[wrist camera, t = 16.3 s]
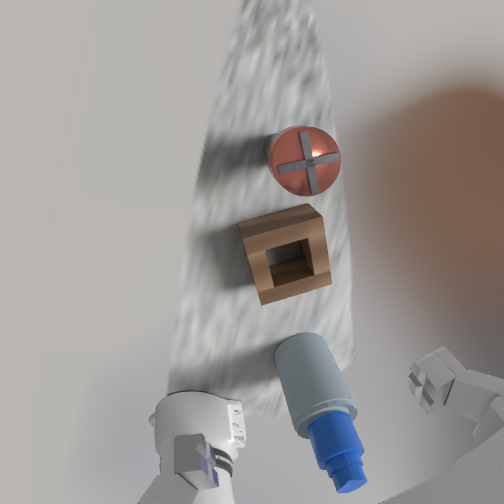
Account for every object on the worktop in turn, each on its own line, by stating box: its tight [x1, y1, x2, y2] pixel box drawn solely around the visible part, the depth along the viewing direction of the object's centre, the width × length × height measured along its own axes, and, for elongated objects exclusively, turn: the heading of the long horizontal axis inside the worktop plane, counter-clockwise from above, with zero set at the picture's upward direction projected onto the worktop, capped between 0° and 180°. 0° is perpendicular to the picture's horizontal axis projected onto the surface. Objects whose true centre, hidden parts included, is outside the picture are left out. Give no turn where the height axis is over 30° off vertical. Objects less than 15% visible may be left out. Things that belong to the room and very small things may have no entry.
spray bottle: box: [274, 332, 367, 493], centre depth 37 cm, size 9×9×25 cm
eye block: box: [238, 204, 332, 305], centre depth 37 cm, size 9×9×5 cm
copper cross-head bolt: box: [264, 126, 341, 196], centre depth 29 cm, size 6×6×11 cm
